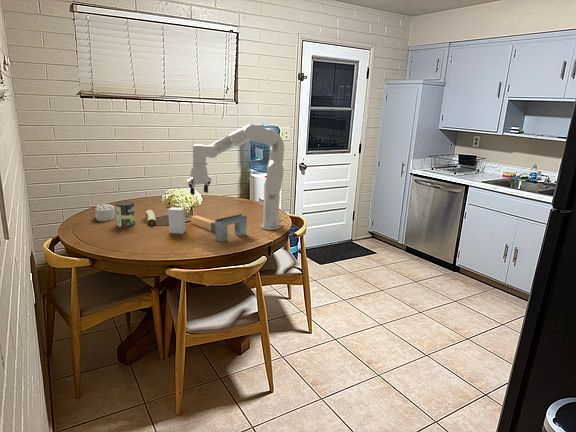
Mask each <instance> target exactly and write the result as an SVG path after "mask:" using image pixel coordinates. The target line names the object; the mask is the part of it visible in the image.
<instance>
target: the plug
mask: <svg viewBox="0 0 576 432" xmlns="http://www.w3.org/2000/svg"><path fill="white" fill-rule="evenodd" d="M190 217H191V220H190V222H191V224H192V225H195V226H197V227H200V228H202V229H205V230H207V231H209V232H211V233H214V234H215V220H212V219H210V218H206V217H203V216H200V215H196V214H195V215H192V216H190Z"/></svg>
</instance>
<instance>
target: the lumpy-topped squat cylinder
mask: <svg viewBox="0 0 576 432" xmlns="http://www.w3.org/2000/svg"><path fill="white" fill-rule="evenodd" d="M115 217H116V206H114V205H111V204H109V203H107V204H106V203H105V204H100V205H99V204H98V205H96V207H95V219H96V221H99V222H108V221H111V220H113V219H114V218H115Z"/></svg>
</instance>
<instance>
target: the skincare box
mask: <svg viewBox="0 0 576 432" xmlns="http://www.w3.org/2000/svg"><path fill="white" fill-rule="evenodd" d="M185 213H186V212H185V207H173V206H172V207H170V208H168V209H167V216H168V229H169V234H181V235H184V234H185V232H186V218H185V217H186V215H185Z"/></svg>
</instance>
